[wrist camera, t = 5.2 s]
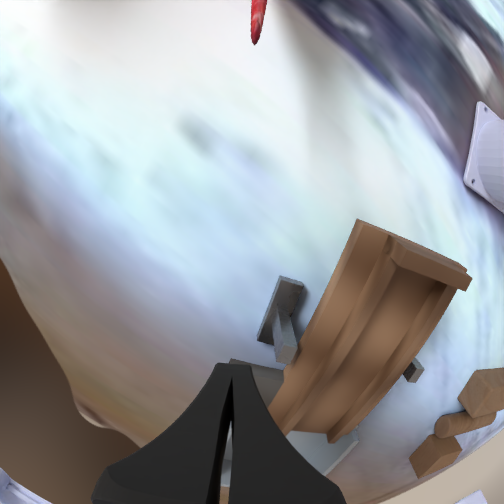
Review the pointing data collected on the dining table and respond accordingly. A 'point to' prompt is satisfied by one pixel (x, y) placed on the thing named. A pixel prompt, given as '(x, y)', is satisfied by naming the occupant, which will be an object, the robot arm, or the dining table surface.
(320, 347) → the wooden rack
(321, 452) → the tray
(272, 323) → the lever stand
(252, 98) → the dining table surface
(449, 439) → the wooden block set
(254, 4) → the red pointed-tail figurine
